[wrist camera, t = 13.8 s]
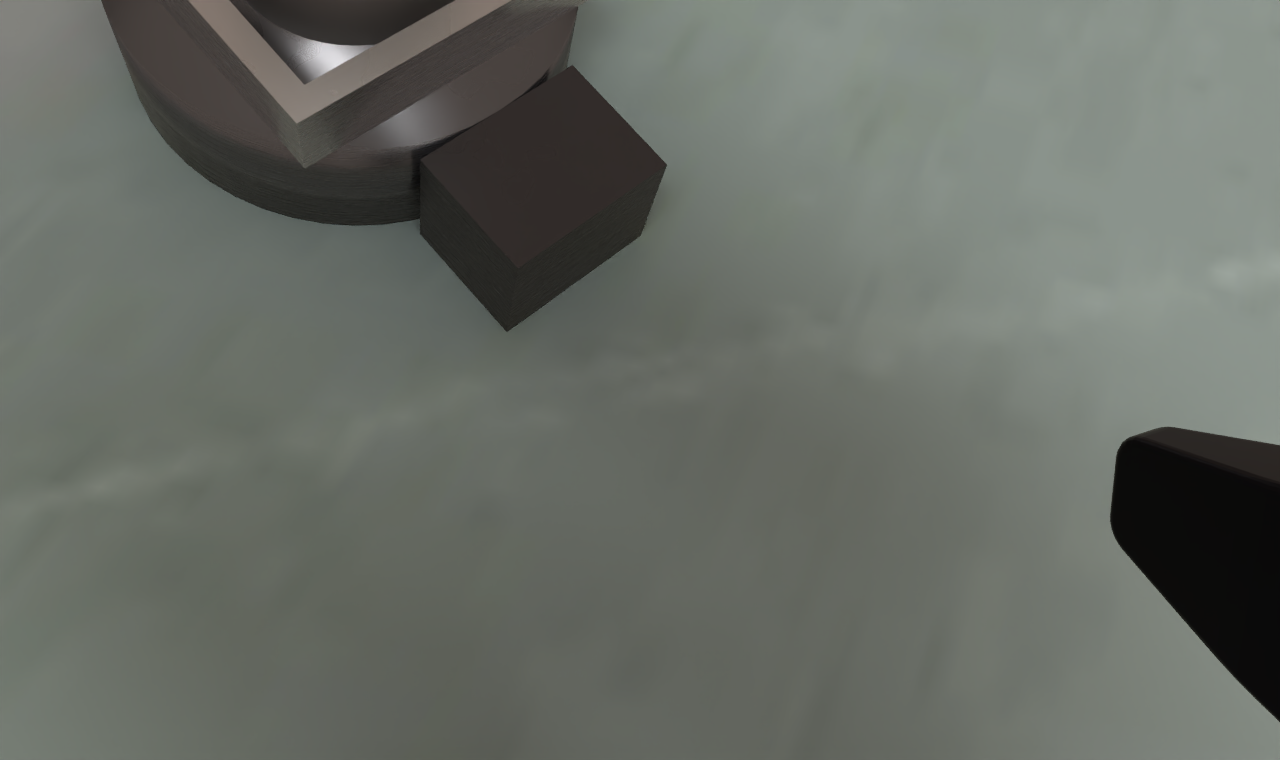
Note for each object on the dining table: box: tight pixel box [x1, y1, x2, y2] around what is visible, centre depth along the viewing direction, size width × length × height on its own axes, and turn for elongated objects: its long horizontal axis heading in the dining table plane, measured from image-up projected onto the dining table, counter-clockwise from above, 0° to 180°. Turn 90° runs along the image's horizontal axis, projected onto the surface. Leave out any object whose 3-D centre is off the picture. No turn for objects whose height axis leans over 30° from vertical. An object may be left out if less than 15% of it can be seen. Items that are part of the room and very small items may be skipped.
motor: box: [101, 0, 667, 331], centre depth 24 cm, size 13×10×4 cm
